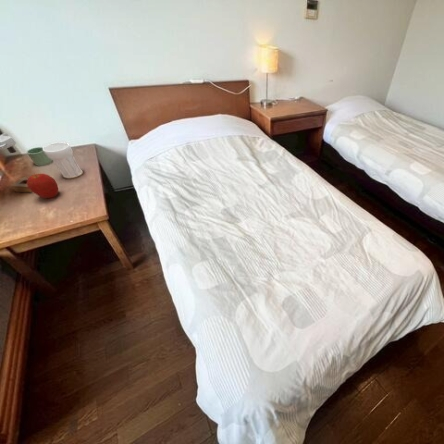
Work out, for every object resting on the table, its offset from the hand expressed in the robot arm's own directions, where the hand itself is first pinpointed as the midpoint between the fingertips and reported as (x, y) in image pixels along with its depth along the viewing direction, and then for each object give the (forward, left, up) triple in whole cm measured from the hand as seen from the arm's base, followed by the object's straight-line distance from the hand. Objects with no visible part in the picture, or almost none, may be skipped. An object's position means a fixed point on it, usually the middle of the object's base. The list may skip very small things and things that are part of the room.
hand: (1, 134), depth 120 cm
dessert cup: (-12, +14, -26) cm, 32 cm away
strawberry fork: (0, -1, -9) cm, 9 cm away
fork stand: (+6, -7, -26) cm, 27 cm away
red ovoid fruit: (+22, -8, -26) cm, 35 cm away
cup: (+14, +11, -26) cm, 31 cm away
